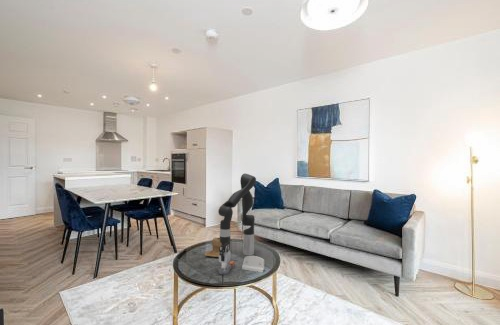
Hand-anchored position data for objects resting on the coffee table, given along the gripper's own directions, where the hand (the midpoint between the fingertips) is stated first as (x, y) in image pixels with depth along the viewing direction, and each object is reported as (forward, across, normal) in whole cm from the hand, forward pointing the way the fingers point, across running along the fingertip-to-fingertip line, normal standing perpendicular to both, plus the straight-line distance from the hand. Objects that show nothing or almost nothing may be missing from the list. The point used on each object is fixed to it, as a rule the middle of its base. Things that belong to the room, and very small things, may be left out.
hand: (224, 259), depth 166 cm
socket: (+1, 0, 0) cm, 1 cm away
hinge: (+10, +14, -17) cm, 24 cm away
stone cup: (+10, +29, +21) cm, 37 cm away
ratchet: (+9, +6, 0) cm, 11 cm away
